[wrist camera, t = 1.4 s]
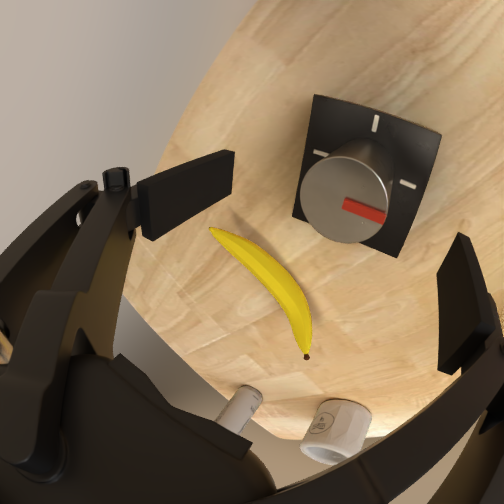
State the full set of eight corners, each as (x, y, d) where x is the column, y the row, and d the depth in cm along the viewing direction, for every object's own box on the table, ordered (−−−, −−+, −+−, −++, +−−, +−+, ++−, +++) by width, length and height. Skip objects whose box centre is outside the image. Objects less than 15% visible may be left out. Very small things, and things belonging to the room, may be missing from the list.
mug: (353, 394, 39) (333, 444, 32) (382, 421, 39) (366, 467, 32) (299, 402, 48) (277, 442, 41) (329, 427, 48) (311, 465, 41)
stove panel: (321, 94, 21) (312, 93, 19) (438, 132, 17) (442, 135, 16) (300, 207, 28) (290, 217, 26) (398, 246, 25) (396, 259, 23)
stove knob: (330, 184, 23) (290, 227, 16) (342, 130, 20) (306, 145, 13) (384, 204, 21) (370, 259, 14) (400, 149, 18) (400, 177, 11)
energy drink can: (260, 402, 56) (226, 452, 45) (238, 390, 58) (202, 438, 47) (266, 394, 53) (229, 449, 42) (242, 380, 54) (202, 433, 43)
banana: (240, 204, 32) (207, 226, 28) (333, 322, 34) (316, 358, 29) (226, 216, 34) (194, 239, 29) (316, 328, 36) (298, 362, 31)
